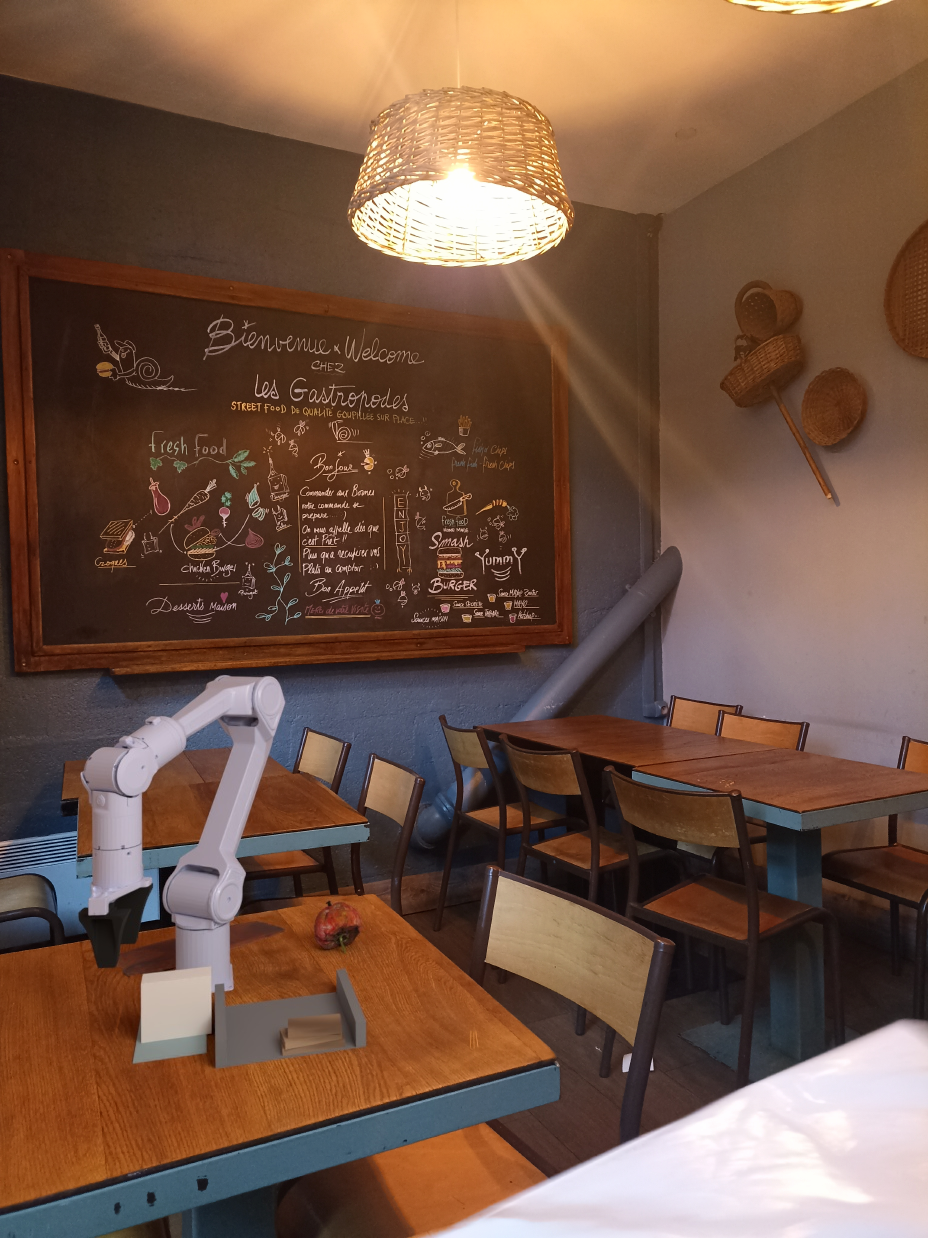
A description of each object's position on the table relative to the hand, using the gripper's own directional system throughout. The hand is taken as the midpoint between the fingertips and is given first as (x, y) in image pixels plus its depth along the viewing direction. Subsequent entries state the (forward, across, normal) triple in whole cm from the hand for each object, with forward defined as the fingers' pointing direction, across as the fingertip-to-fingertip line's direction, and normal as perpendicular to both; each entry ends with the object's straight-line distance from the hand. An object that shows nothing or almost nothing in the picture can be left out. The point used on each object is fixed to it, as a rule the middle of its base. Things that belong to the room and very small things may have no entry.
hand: (117, 954), depth 106 cm
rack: (+9, -2, -21) cm, 23 cm away
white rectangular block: (+9, -2, -8) cm, 12 cm away
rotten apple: (+10, +25, -25) cm, 37 cm away
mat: (+9, -2, -7) cm, 12 cm away
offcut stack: (+9, -6, -24) cm, 27 cm away
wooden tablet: (+10, +28, -4) cm, 30 cm away
